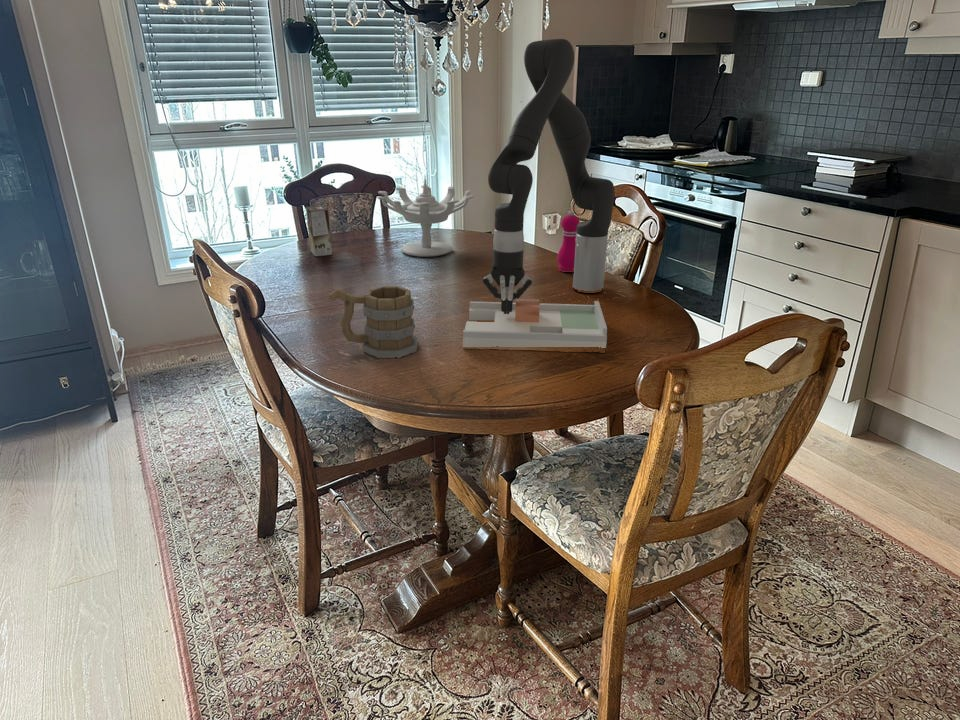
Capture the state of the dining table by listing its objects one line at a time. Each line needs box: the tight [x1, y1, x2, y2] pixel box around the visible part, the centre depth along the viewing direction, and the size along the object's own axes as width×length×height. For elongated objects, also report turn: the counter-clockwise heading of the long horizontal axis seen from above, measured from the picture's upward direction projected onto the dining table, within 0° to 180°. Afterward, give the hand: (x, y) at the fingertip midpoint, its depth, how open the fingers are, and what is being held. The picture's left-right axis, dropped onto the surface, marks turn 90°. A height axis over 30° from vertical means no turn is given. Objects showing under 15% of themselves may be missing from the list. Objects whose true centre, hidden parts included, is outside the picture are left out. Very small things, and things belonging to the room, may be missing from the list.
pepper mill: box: [557, 210, 581, 271], centre depth 215 cm, size 7×7×20 cm
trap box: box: [462, 300, 608, 349], centre depth 165 cm, size 22×34×6 cm, turn 86°
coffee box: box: [305, 205, 333, 257], centre depth 234 cm, size 9×6×16 cm
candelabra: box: [377, 177, 475, 258], centre depth 234 cm, size 34×35×27 cm
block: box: [515, 298, 540, 322], centre depth 168 cm, size 6×6×4 cm
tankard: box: [328, 285, 419, 359], centre depth 155 cm, size 20×13×15 cm, turn 92°
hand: (506, 313), depth 169 cm, fingers closed
